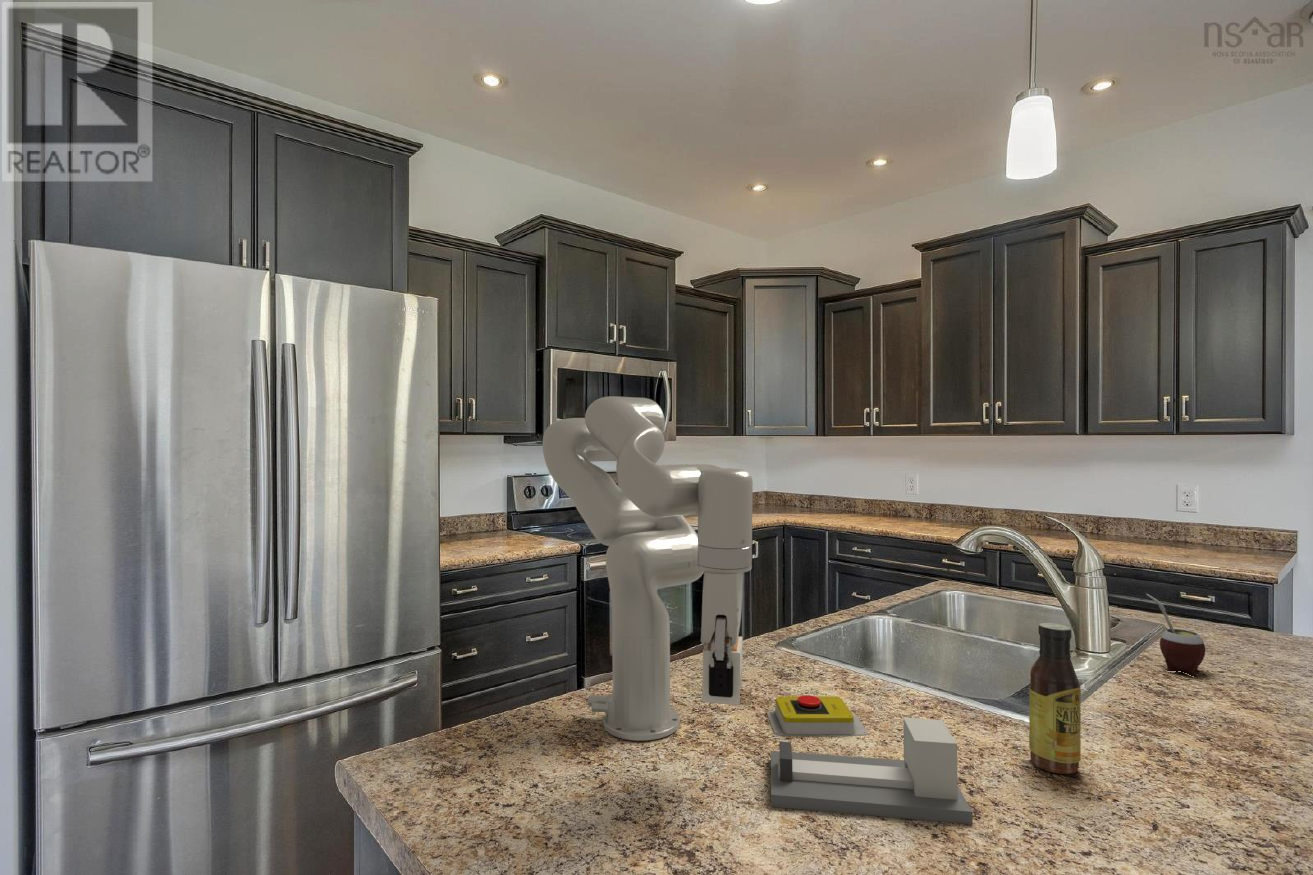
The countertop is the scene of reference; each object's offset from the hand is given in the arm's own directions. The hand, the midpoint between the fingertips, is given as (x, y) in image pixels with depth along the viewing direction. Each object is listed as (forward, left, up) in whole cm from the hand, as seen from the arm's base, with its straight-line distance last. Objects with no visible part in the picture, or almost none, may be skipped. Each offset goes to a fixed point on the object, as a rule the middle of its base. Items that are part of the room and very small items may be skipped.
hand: (722, 683), depth 90 cm
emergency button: (+14, +20, -14) cm, 28 cm away
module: (0, 0, -1) cm, 1 cm away
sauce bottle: (+46, +11, -13) cm, 49 cm away
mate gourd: (+87, +56, -13) cm, 104 cm away
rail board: (+18, -1, -13) cm, 23 cm away
